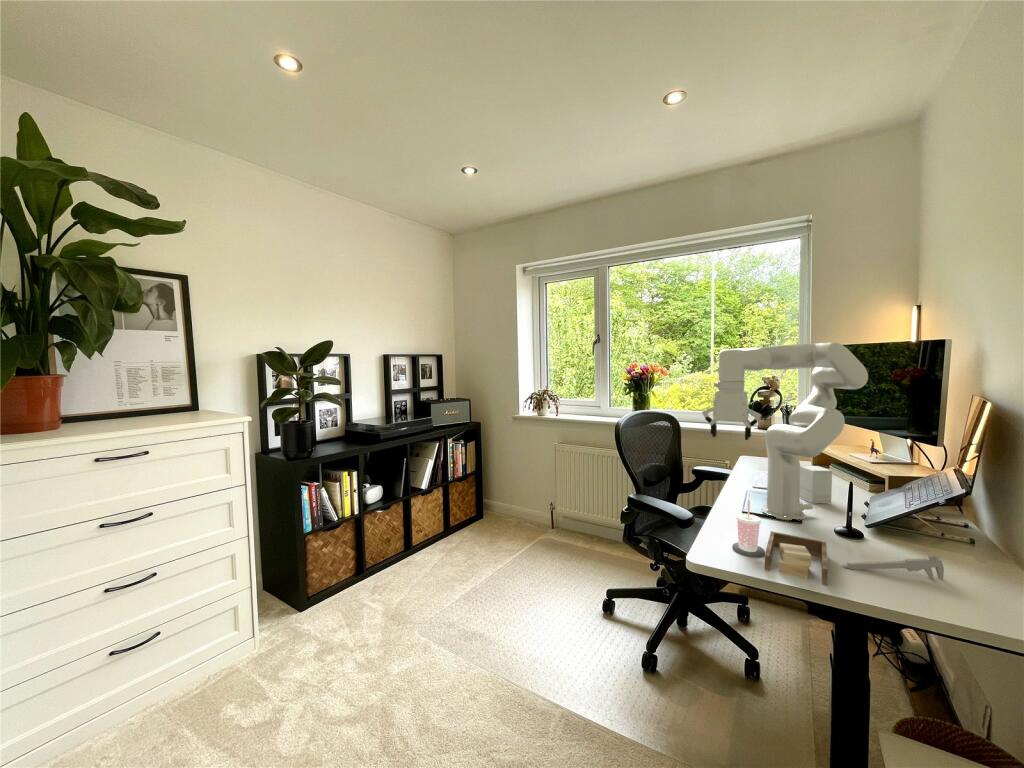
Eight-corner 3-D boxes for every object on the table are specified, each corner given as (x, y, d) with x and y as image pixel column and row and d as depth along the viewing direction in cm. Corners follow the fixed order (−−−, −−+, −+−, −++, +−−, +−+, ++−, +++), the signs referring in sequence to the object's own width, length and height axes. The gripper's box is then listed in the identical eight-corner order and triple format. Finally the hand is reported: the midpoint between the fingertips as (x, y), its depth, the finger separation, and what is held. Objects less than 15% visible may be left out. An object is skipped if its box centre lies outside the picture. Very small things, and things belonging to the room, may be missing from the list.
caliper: (940, 579, 103) (941, 554, 103) (943, 581, 102) (944, 556, 102) (841, 567, 110) (842, 543, 109) (843, 569, 108) (844, 545, 108)
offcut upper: (779, 554, 111) (779, 543, 111) (804, 557, 109) (804, 546, 109) (784, 563, 106) (784, 552, 106) (810, 567, 104) (811, 555, 104)
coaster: (752, 543, 123) (752, 541, 123) (771, 556, 115) (771, 554, 115) (726, 544, 123) (726, 542, 123) (743, 557, 115) (743, 555, 115)
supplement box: (832, 504, 156) (833, 470, 155) (812, 504, 156) (812, 470, 155) (817, 497, 163) (818, 465, 162) (798, 497, 163) (799, 465, 162)
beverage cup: (747, 554, 115) (748, 504, 114) (730, 545, 121) (731, 497, 120) (765, 551, 117) (766, 502, 116) (747, 542, 123) (748, 495, 122)
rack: (770, 544, 123) (770, 531, 122) (825, 556, 115) (826, 542, 115) (764, 569, 108) (764, 554, 108) (827, 585, 100) (827, 569, 100)
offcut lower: (781, 563, 112) (781, 553, 112) (809, 570, 108) (809, 559, 108) (778, 573, 107) (779, 561, 107) (807, 580, 103) (807, 568, 103)
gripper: (700, 386, 140) (699, 437, 141) (760, 388, 130) (759, 442, 131) (705, 385, 146) (704, 433, 147) (762, 386, 136) (761, 438, 137)
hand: (730, 437), depth 139 cm, fingers open, 9 cm apart
